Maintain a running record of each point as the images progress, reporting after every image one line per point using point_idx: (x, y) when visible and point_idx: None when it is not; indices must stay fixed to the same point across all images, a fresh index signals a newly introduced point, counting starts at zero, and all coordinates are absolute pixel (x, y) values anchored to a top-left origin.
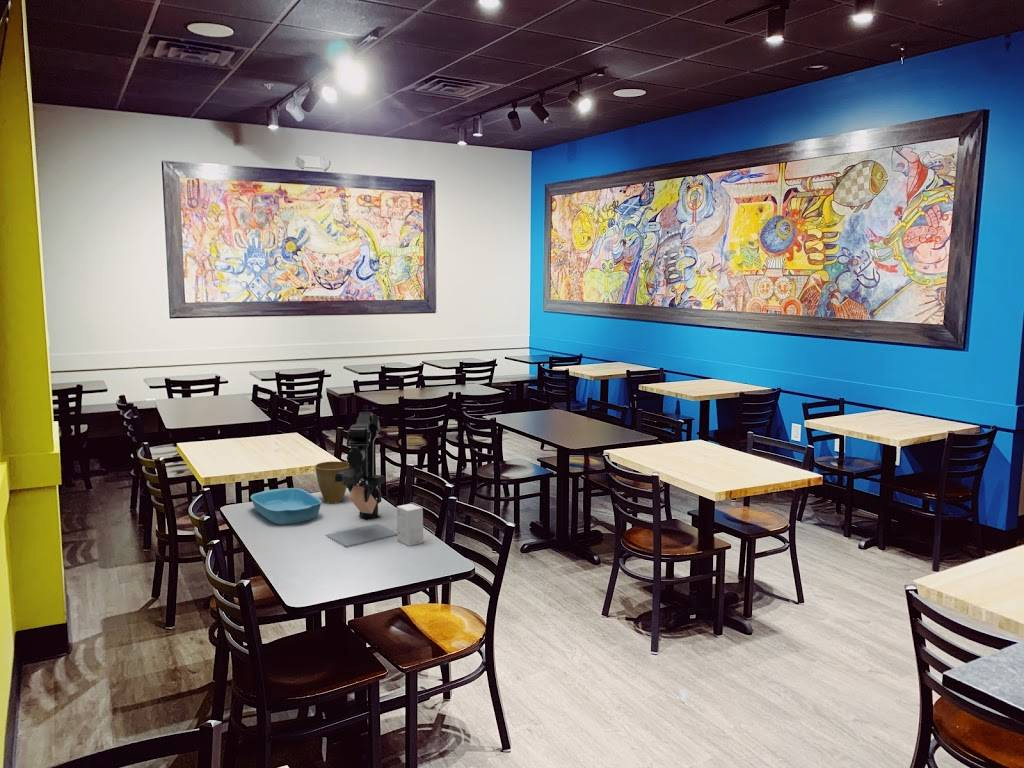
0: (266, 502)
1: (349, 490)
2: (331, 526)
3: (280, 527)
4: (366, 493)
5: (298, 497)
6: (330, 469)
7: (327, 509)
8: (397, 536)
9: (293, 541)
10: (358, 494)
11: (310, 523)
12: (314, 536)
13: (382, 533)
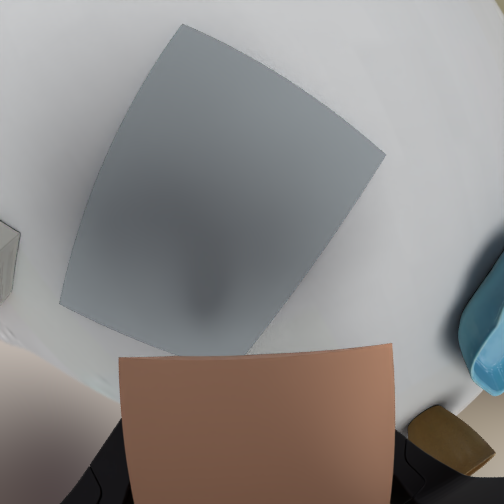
0: None
1: (418, 456)
2: (400, 284)
3: None
4: (93, 478)
5: (493, 377)
6: (468, 471)
7: (433, 384)
8: (8, 240)
9: (455, 68)
10: (200, 449)
11: (463, 279)
12: (421, 143)
13: (117, 279)
